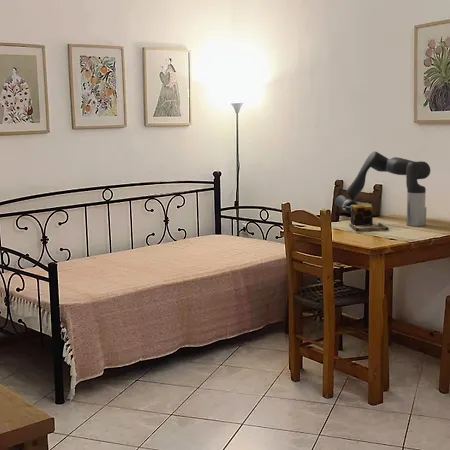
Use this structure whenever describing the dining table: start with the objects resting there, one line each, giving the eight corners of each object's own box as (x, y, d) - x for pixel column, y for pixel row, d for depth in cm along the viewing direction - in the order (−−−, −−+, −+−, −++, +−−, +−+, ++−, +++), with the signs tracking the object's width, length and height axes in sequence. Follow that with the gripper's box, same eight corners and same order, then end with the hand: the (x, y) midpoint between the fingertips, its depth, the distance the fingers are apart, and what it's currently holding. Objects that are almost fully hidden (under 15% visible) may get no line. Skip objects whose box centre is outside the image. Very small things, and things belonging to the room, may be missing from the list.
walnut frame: (380, 225, 366) (380, 222, 366) (388, 230, 351) (388, 227, 351) (349, 226, 365) (349, 223, 365) (356, 231, 350) (356, 228, 350)
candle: (372, 225, 368) (373, 206, 366) (353, 225, 368) (353, 207, 366) (369, 222, 378) (369, 204, 376) (350, 222, 378) (350, 204, 376)
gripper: (338, 200, 397) (345, 204, 380) (361, 199, 397) (369, 203, 380) (338, 213, 398) (345, 217, 381) (361, 212, 398) (369, 217, 381)
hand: (357, 210), depth 380 cm, fingers closed
